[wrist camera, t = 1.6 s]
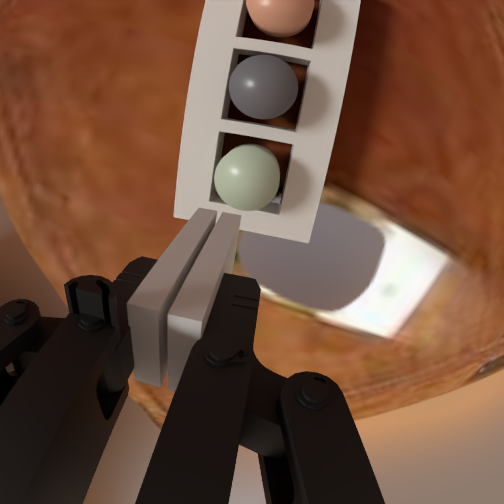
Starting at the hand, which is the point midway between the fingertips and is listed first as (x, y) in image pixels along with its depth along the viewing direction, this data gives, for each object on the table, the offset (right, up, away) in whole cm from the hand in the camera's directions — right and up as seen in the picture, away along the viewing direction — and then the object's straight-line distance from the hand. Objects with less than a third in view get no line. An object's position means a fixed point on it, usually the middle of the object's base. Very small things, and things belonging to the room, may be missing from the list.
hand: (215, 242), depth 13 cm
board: (+3, +13, +12) cm, 18 cm away
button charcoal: (+3, +12, +9) cm, 16 cm away
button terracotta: (+4, +18, +6) cm, 20 cm away
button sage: (+1, +6, +12) cm, 14 cm away
